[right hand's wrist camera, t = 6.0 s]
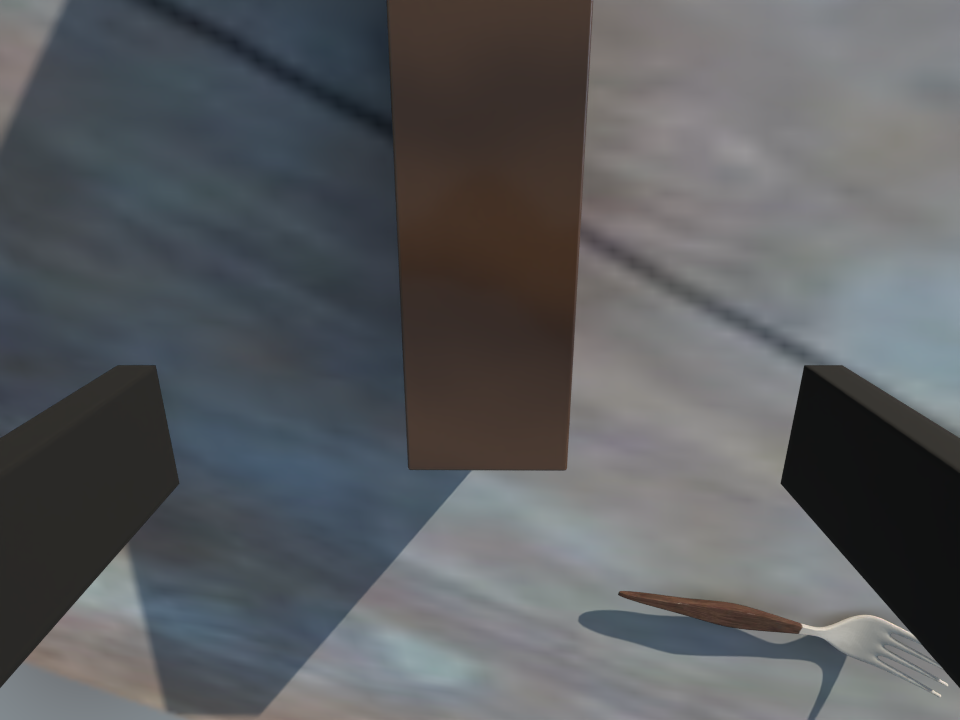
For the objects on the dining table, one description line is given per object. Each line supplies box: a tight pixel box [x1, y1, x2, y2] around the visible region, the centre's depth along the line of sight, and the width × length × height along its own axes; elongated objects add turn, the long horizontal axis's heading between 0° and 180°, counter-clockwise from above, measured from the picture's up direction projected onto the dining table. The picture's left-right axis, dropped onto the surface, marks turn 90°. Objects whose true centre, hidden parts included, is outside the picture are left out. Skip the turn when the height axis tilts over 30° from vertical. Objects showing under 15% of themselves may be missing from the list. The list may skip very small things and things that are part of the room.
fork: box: [618, 591, 948, 697], centre depth 28 cm, size 3×16×2 cm, turn 77°
